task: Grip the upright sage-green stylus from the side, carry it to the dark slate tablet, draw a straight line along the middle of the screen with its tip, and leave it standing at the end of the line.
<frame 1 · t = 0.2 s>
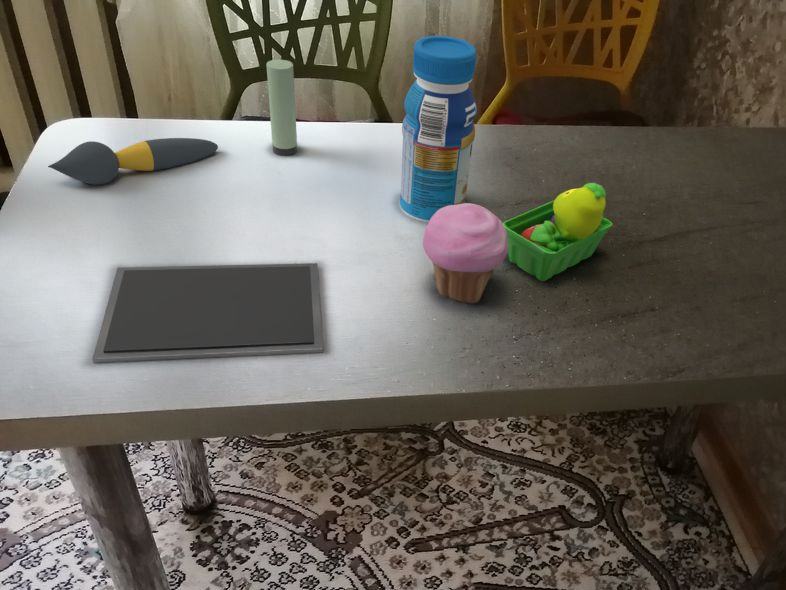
cupcake: (459, 293, 80), on the table
paintbrush: (141, 172, 92), on the table
beverage bottle: (432, 210, 93), on the table
tablet: (217, 314, 73), on the table
stylus: (285, 154, 100), on the table
fruit basket: (553, 264, 86), on the table
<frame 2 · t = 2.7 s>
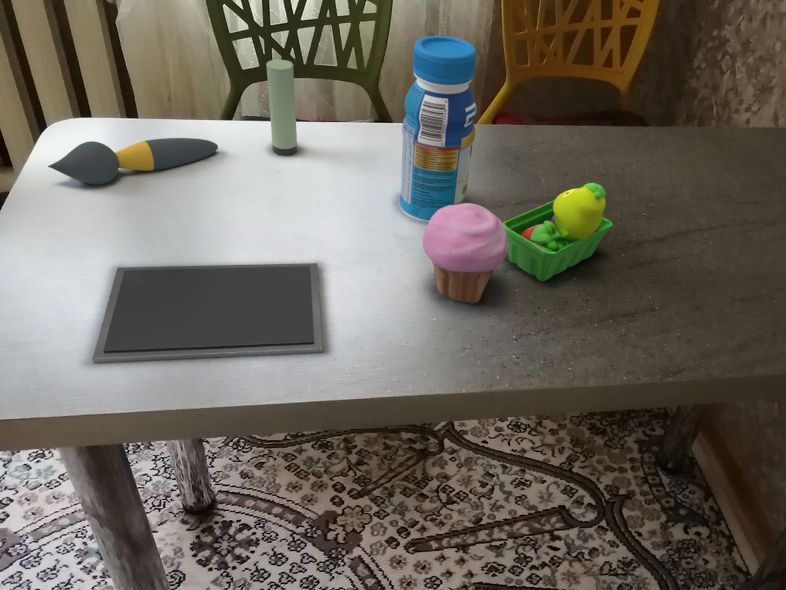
nothing on the table moved.
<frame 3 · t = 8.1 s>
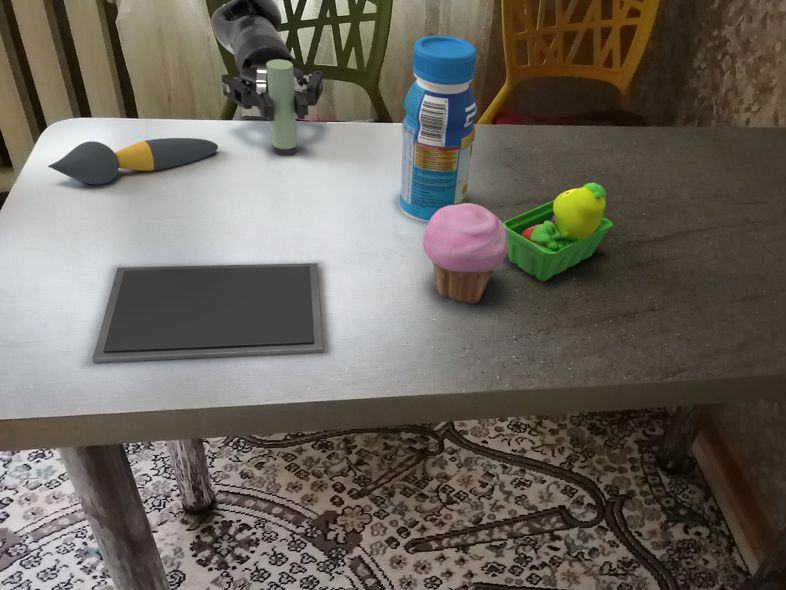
hand: (286, 112, 93), 7 cm above the table, tool horizontal, fingers closed on stylus, 3 cm apart
stylus: (285, 154, 100), on the table, touching gripper
everything else where it was.
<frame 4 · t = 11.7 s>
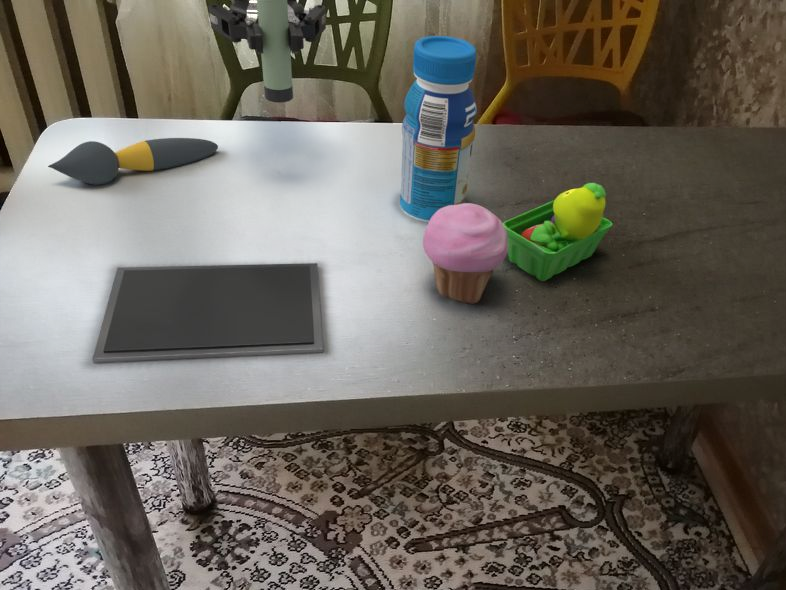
hand: (277, 44, 80), 18 cm above the table, tool horizontal, fingers closed on stylus, 3 cm apart
stylus: (279, 97, 87), point 11 cm above the table, touching gripper
everything else where it was.
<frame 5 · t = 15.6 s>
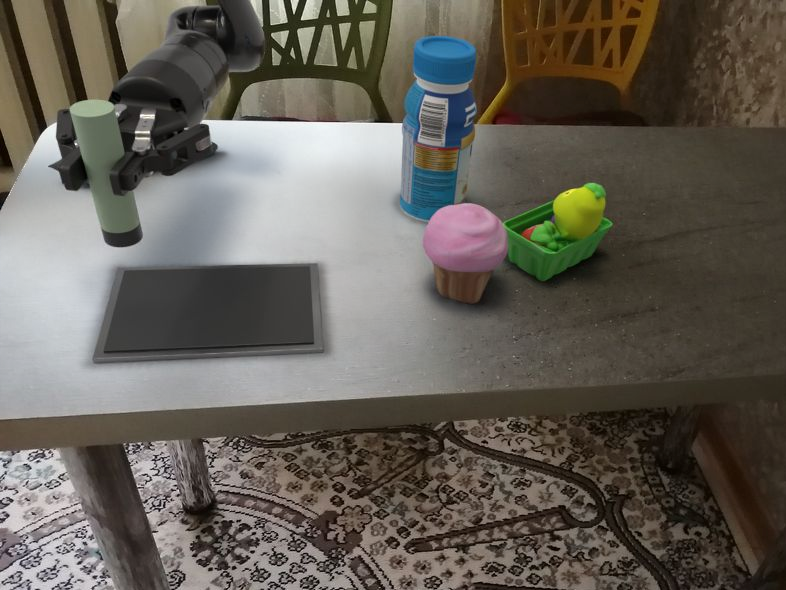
hand: (92, 182, 59), 16 cm above the table, tool horizontal, fingers closed on stylus, 3 cm apart
stylus: (123, 237, 66), point 9 cm above the table, touching gripper
everything else where it was.
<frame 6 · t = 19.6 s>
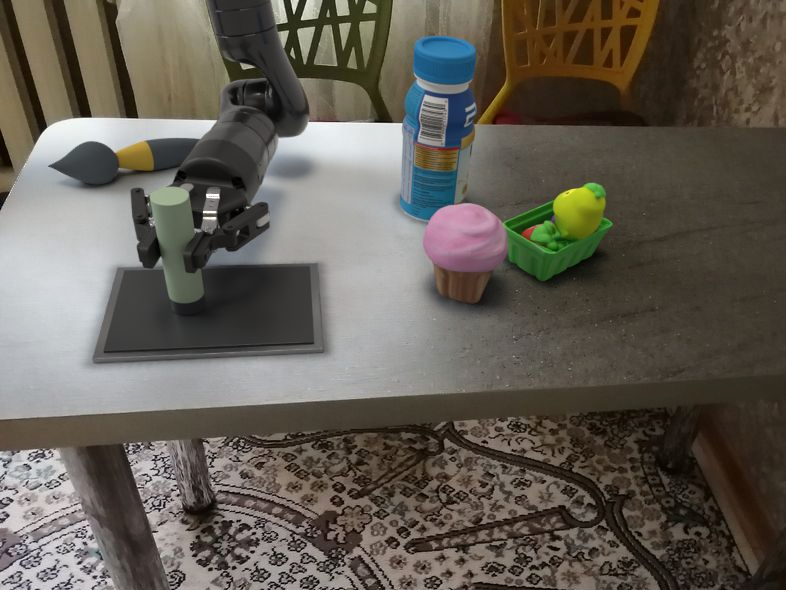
hand: (167, 262, 65), 8 cm above the table, tool horizontal, fingers closed on stylus, 3 cm apart
stylus: (188, 305, 72), point 1 cm above the table, touching gripper
everything else where it was.
when the fingers open (8 cm above the table, at t = 23.1 s): stylus stays where it is, resting on tablet.
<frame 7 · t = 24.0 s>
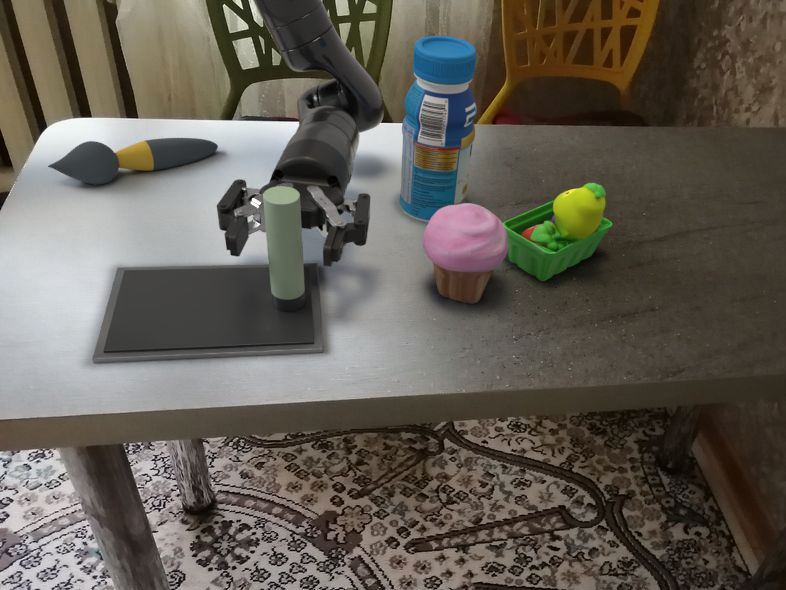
hand: (280, 253, 68), 8 cm above the table, tool horizontal, fingers open, 8 cm apart
stylus: (288, 302, 74), point 1 cm above the table, touching tablet
everything else where it was.
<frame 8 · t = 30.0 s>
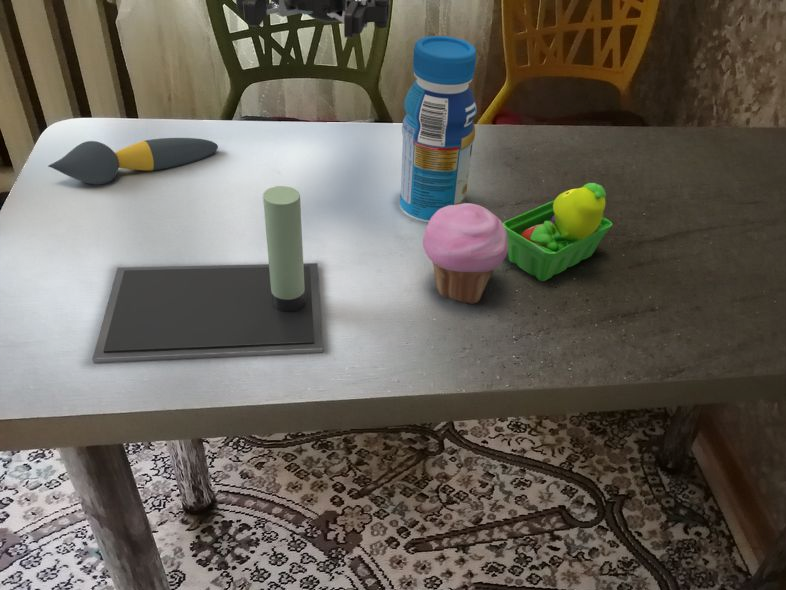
hand: (300, 21, 66), 25 cm above the table, tool horizontal, fingers open, 8 cm apart
nothing on the table moved.
at the end: stylus 0.1 cm from the target spot on the tablet, point 1.2 cm above the tablet's base; stylus tilted 0°; the gripper is holding nothing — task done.
